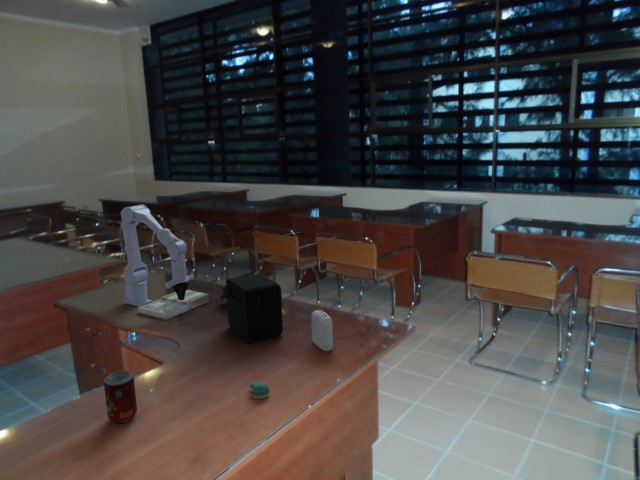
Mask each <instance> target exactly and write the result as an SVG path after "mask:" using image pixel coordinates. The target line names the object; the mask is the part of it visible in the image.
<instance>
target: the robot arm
mask: <svg viewBox="0 0 640 480" xmlns="http://www.w3.org/2000/svg"><path fill="white" fill-rule="evenodd" d="M120 217H121V229H122V234H123V240H124V247H125V252H126V257H127V262H128V263H127V264H126V266H125V267H124V269H123V270H124V271H123V273H124V276H123V279H124V282H125V284H126V285H125V286H124V296H125V297H124V298H125V301H124V304H126V305H131V306H135V307H140V306H143V305H146V304H149V303H151V302H153V300H152V299H149V298H148V288H147V282H148V280H149V278H150V272H149V269H148V267H147V264H146V263H144V262H143V261H142V257H141V251H140V244H139V239H138V232H137V226H138V225H139V223H143V224H145V226H147V227H148V228H149V229H151V230H152V231H153V232H154V233H155V234H156V239H158V241H159V242H160V243H161V244H162V245H164V246H165V247H166V252H167V254H168V256H169V259H170V264H171V274H172V276H171V277H172V279H170V280H169V281H168V282H165V283H164V288H165V289H170V288H173V290H174V292H176V294H177V296H178V299H179V300H181V301H182V300H184V298H185V293H186V290H188V287H189V284H190V283H189V281H193V280H195V275H194V274H189V275H187V263H186V262H187V261H186V254H185V253H186V252H187V251H188V244H187V243H186V241H185V240H183V239H181V238H178V237H177V236H175V235H174V234H173V233H172V231H171V230H170V228H163V227H162V226H161V224H160V223H159V222H158V221H157V220H156V218H155V217H154V216H153V215H152V214H151V210H150V209H149V208H148V207H147V206H146V205H145V204H142V203H141V204H138V205H133V206H125V207H123V209H122V210H121V211H120Z"/></svg>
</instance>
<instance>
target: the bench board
mask: <svg viewBox="0 0 640 480" xmlns="http://www.w3.org/2000/svg"><path fill="white" fill-rule="evenodd" d="M160 299H162V300H167V301H171V302H176V303H180V304H185V305H188V309H189V311H191V310H192V309H195V308H198V307H200V306H202V305H204V304H206V303H209V302H210V293H204V292H199V291H194V290H191V289H187V290H186V293H185V298H184V300H182V301H181V300H179V299H178V296H177V294H176V292H175V291H174V292H172V293H167V294H166V295H164V296H161V297H160Z"/></svg>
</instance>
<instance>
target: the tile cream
mask: <svg viewBox="0 0 640 480" xmlns="http://www.w3.org/2000/svg"><path fill="white" fill-rule="evenodd" d="M166 307H167V305H166V303H163V302H156V303H153V304H150V305H149V309H150V310H154V311H160V310H162V309H164V308H166Z"/></svg>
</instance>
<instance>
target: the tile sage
mask: <svg viewBox="0 0 640 480" xmlns="http://www.w3.org/2000/svg"><path fill="white" fill-rule="evenodd" d="M179 308H181V307H178V306H173V305H171V306H169V307H166V308H164V309H163V313H169V312H171V311H174V310H176V309H179Z"/></svg>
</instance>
